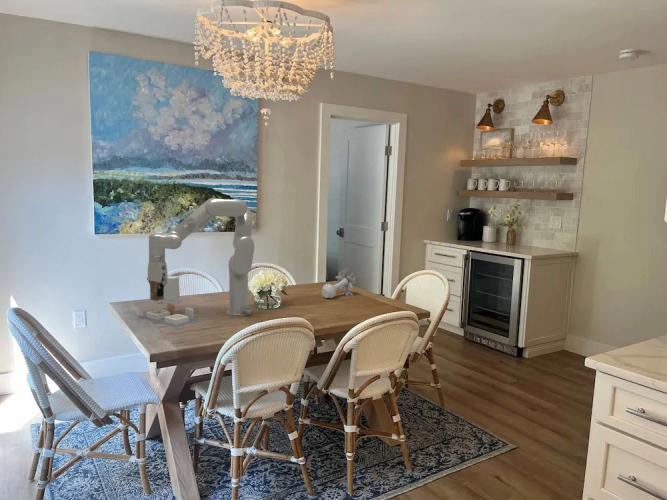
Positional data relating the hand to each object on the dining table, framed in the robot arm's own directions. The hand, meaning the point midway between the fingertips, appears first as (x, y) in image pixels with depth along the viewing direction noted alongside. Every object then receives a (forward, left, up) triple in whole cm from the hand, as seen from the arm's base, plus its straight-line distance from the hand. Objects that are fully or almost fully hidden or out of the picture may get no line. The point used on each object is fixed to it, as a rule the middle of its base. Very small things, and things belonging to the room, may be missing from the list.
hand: (157, 294), depth 245 cm
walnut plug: (0, 0, -2) cm, 2 cm away
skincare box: (+19, -23, -12) cm, 32 cm away
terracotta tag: (0, -8, -11) cm, 14 cm away
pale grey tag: (-14, -8, -11) cm, 20 cm away
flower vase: (-41, -102, -13) cm, 111 cm away
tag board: (-7, -2, -12) cm, 14 cm away
